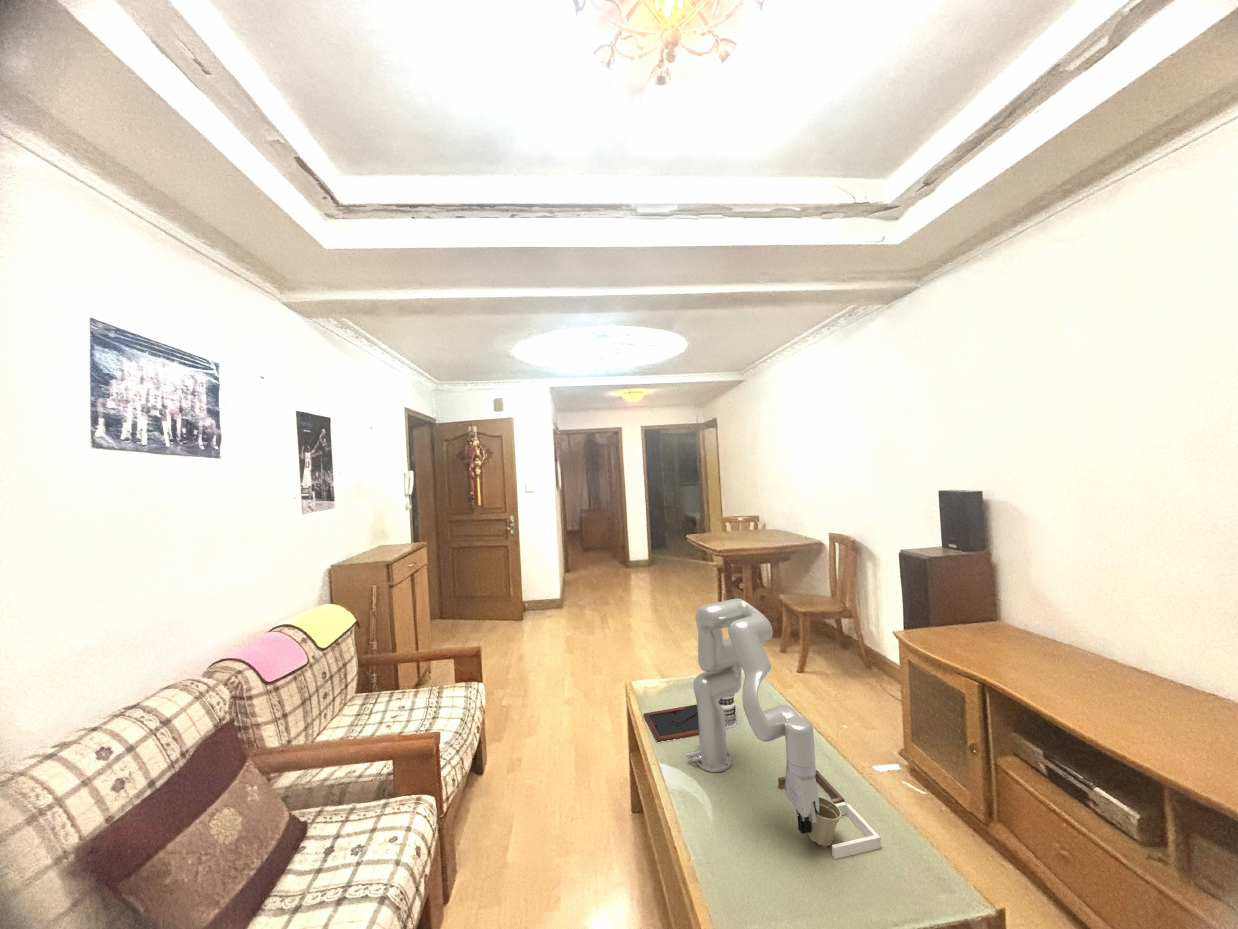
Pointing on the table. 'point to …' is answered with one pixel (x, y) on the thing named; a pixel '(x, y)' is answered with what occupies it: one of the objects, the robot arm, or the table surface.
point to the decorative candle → (729, 710)
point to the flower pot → (825, 822)
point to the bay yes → (857, 845)
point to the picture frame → (673, 723)
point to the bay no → (823, 783)
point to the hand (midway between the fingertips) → (804, 831)
